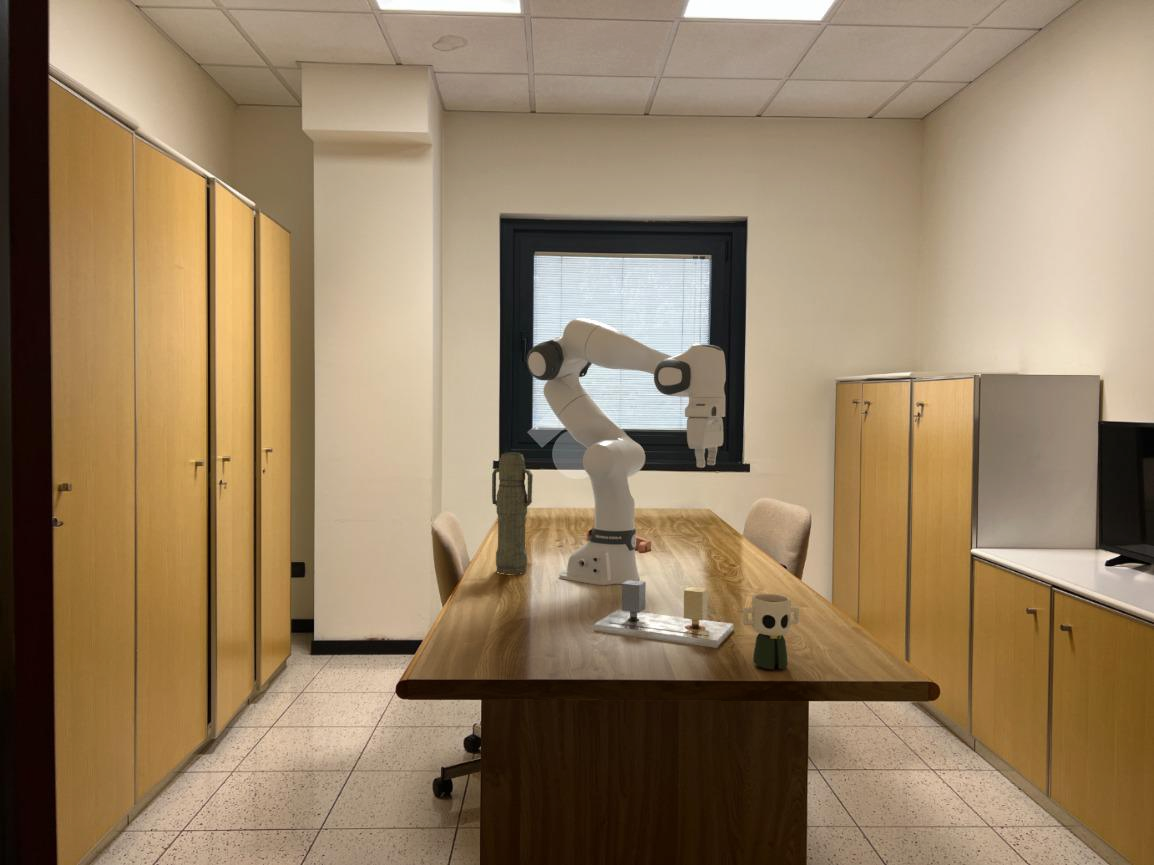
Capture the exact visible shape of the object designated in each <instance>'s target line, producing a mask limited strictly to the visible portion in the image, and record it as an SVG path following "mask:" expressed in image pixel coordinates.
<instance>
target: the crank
mask: <svg viewBox="0 0 1154 865" xmlns="http://www.w3.org/2000/svg"><path fill="white" fill-rule="evenodd" d="M588 541H589V535H588V536H586V542H588ZM636 550H637V551H638V553H646V552H648V551H650V550H652V540H650V539H647V538H644V537H643V536H638V535H636V548H635V551H636Z"/></svg>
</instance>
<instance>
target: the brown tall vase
mask: <svg viewBox="0 0 1154 865" xmlns="http://www.w3.org/2000/svg"><path fill="white" fill-rule="evenodd" d="M497 473H498V480H499V484H498V491H497ZM526 475H527V489H526V483H525V480H526ZM491 476H492V477H491V498H492V505H495V507H496V514H497V549H496V552H495V565H496V573H497V572H499V573H504V574H520V573H524V572H526V573H527V565H528V552H527V551H528V550H527V547H526V515H527V514H528V507H529V506H530V505H532V502H533V476H534V475H533V473H532V471H531V470H530V469H526V460H525V458H524V454H522V453H521V452H515V451H514V452H512V451H511V452H504V453H501V455H500V459H499V462H498V468H495V469H494V470H493V471H492V473H491ZM524 574H525V573H524ZM520 575H521V574H520Z"/></svg>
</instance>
